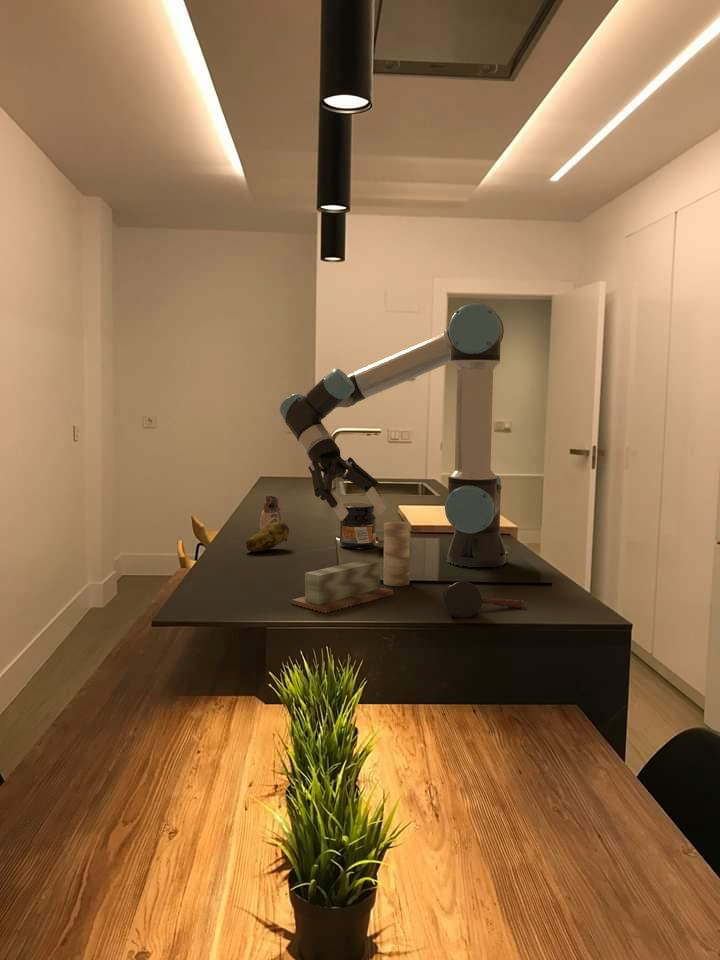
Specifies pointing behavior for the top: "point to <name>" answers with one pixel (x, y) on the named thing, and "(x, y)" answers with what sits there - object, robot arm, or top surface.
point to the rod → (396, 553)
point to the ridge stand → (342, 586)
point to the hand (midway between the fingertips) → (364, 513)
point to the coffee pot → (471, 600)
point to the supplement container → (358, 526)
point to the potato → (268, 537)
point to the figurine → (270, 511)
